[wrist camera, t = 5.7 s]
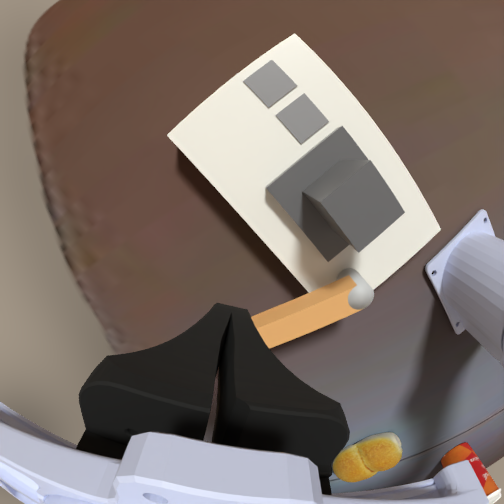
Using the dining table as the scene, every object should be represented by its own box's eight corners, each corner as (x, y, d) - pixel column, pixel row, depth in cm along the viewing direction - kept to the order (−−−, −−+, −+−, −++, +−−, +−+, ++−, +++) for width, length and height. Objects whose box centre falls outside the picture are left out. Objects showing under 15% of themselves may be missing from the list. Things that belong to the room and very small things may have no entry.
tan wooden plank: (355, 263, 18) (369, 279, 15) (362, 284, 18) (376, 302, 16) (156, 345, 20) (145, 366, 17) (167, 361, 20) (159, 383, 18)
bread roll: (320, 455, 28) (325, 481, 24) (387, 421, 27) (398, 446, 23) (347, 474, 30) (352, 496, 26) (405, 445, 28) (414, 466, 25)
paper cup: (469, 450, 31) (496, 502, 18) (433, 471, 32) (457, 527, 19) (476, 431, 29) (509, 488, 16) (437, 454, 30) (466, 517, 17)
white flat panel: (423, 222, 20) (441, 229, 17) (325, 304, 22) (333, 321, 19) (290, 47, 16) (294, 32, 14) (177, 138, 18) (166, 135, 16)
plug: (376, 196, 19) (438, 217, 12) (316, 246, 20) (350, 294, 13) (328, 131, 18) (373, 114, 10) (264, 184, 19) (270, 197, 11)
